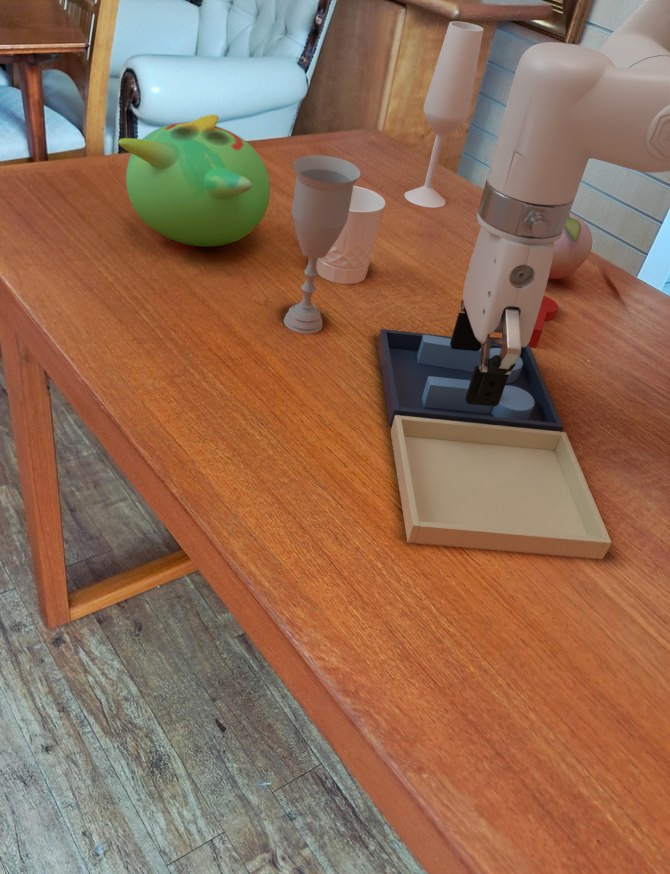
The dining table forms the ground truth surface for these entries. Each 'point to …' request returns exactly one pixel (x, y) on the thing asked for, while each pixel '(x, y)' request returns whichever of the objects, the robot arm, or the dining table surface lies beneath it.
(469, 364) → the blue spoon
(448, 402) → the blue spoon
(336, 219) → the chalice
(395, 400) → the blue tray
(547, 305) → the red spoon
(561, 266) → the decorative fruit
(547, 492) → the cream tray
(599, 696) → the dining table surface
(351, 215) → the white cup
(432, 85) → the champagne flute
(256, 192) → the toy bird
